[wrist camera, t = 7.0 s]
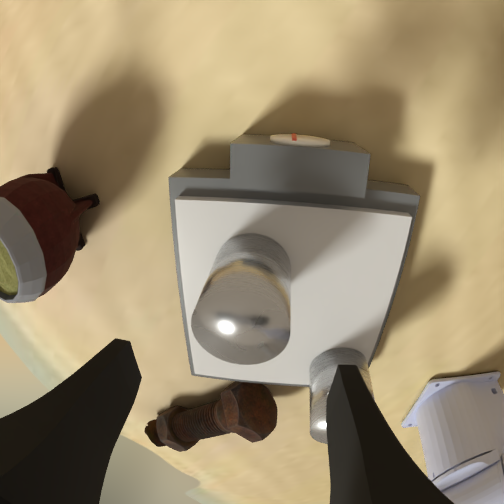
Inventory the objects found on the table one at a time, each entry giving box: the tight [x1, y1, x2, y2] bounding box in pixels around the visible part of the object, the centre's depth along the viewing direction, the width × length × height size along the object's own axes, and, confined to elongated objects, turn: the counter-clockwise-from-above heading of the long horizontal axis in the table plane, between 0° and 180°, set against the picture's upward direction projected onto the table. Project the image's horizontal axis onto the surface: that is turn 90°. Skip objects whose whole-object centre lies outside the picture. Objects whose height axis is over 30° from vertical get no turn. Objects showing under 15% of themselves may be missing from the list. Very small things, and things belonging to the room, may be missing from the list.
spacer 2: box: [309, 347, 375, 444], centre depth 17 cm, size 4×4×5 cm
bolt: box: [145, 381, 277, 452], centre depth 26 cm, size 6×5×15 cm
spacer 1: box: [191, 233, 291, 365], centre depth 14 cm, size 4×4×5 cm
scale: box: [169, 133, 420, 387], centre depth 18 cm, size 13×17×4 cm
